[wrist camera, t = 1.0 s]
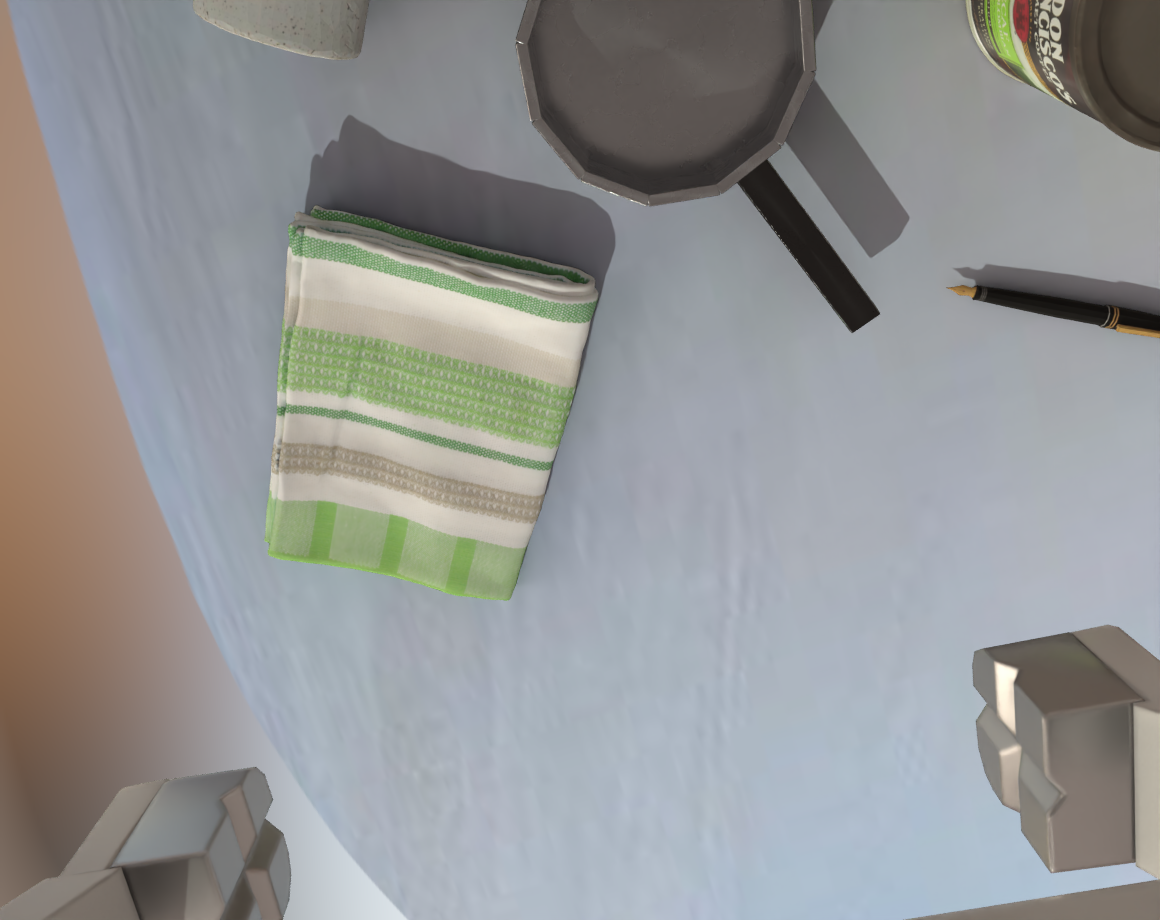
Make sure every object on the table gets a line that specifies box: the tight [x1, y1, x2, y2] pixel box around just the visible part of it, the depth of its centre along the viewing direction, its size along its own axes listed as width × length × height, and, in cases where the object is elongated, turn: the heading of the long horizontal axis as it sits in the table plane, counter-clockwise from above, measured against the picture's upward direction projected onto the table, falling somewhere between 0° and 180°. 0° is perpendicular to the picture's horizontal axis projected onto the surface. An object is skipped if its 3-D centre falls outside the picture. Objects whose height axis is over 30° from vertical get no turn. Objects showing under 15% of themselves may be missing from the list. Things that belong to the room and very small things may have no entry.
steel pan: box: [516, 0, 880, 333], centre depth 51 cm, size 14×24×3 cm, turn 40°
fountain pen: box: [948, 285, 1160, 338], centre depth 56 cm, size 14×1×2 cm, turn 80°
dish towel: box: [265, 205, 598, 601], centre depth 60 cm, size 17×23×4 cm
